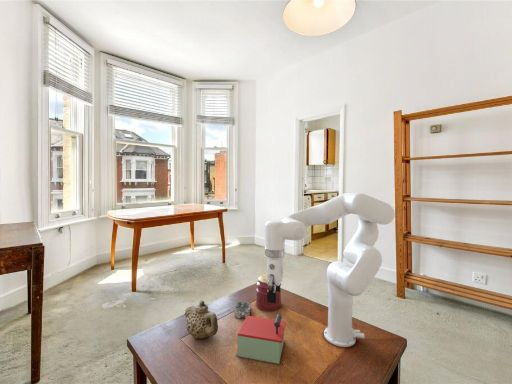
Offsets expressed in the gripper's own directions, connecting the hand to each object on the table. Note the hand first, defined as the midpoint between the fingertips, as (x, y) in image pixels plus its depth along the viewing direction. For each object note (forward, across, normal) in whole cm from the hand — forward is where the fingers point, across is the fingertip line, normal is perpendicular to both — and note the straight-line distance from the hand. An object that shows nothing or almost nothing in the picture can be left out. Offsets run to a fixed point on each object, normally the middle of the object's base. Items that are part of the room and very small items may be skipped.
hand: (274, 296), depth 94 cm
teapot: (+21, -1, +30) cm, 37 cm away
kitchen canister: (+21, +33, +9) cm, 40 cm away
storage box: (+21, -1, +4) cm, 21 cm away
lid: (+13, -1, +4) cm, 13 cm away
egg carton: (+21, +22, +20) cm, 36 cm away
